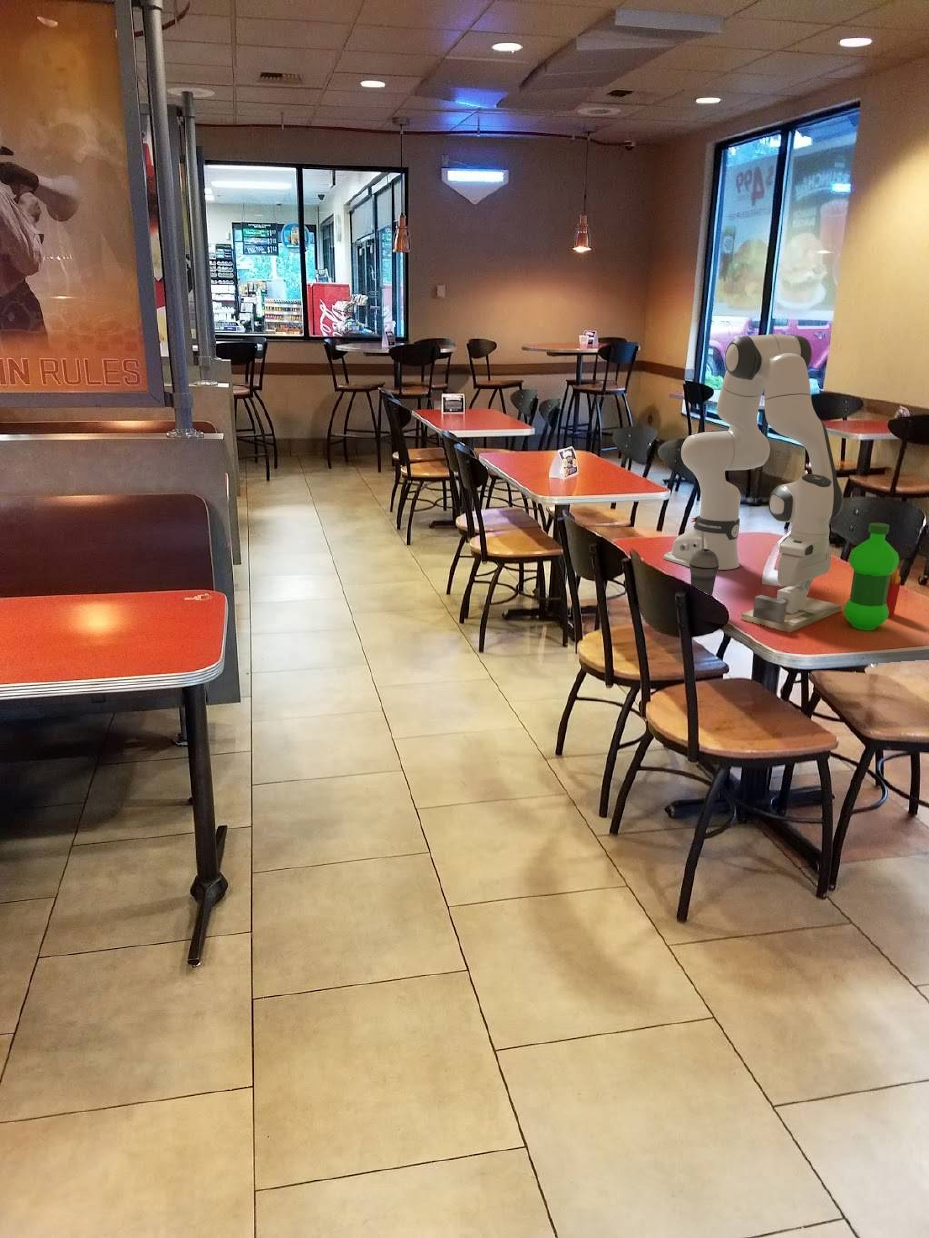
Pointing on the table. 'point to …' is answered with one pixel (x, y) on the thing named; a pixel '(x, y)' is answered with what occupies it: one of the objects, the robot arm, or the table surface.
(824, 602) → the frame
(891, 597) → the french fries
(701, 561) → the beverage cup
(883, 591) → the plastic bottle
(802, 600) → the block
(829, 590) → the table surface
